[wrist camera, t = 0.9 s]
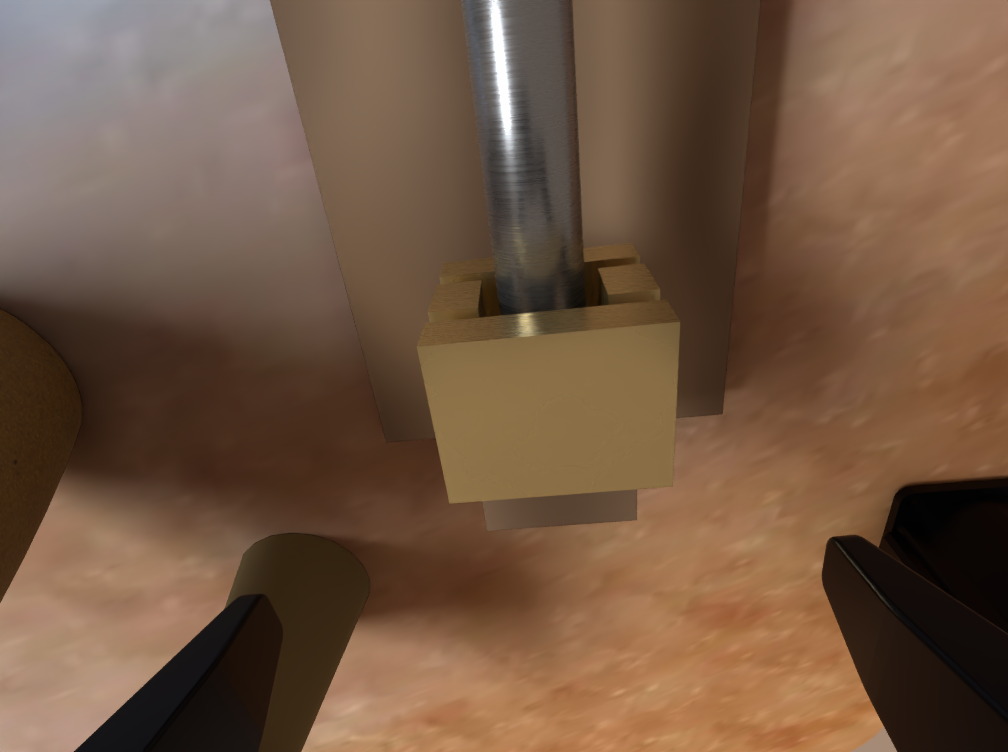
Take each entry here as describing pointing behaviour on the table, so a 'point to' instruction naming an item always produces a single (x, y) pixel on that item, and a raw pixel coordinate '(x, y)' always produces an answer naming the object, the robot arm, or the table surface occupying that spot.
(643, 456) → the nut
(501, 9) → the bolt
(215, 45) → the table surface
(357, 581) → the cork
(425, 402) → the jig
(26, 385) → the plant pot
